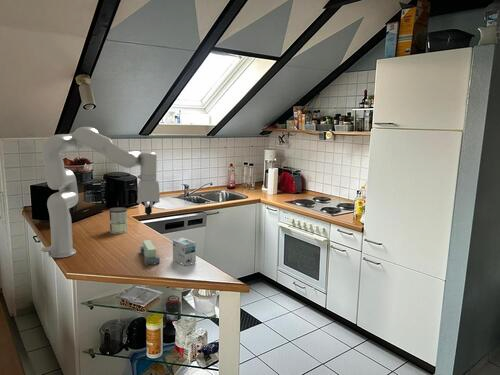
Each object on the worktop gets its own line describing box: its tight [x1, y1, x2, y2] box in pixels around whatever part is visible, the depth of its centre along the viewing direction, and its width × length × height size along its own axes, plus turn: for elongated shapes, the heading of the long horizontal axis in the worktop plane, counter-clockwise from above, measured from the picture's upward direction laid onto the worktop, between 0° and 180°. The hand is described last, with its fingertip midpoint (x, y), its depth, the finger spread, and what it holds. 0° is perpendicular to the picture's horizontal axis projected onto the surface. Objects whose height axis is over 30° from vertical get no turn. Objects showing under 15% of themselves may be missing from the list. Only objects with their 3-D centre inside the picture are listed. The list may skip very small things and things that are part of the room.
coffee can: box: [108, 206, 128, 235], centre depth 236 cm, size 10×10×14 cm
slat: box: [142, 239, 157, 258], centre depth 193 cm, size 4×16×7 cm, turn 24°
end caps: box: [139, 245, 160, 265], centre depth 193 cm, size 6×20×3 cm, turn 24°
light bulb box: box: [172, 237, 197, 266], centre depth 189 cm, size 11×7×11 cm, turn 46°
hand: (148, 214), depth 190 cm, fingers closed
